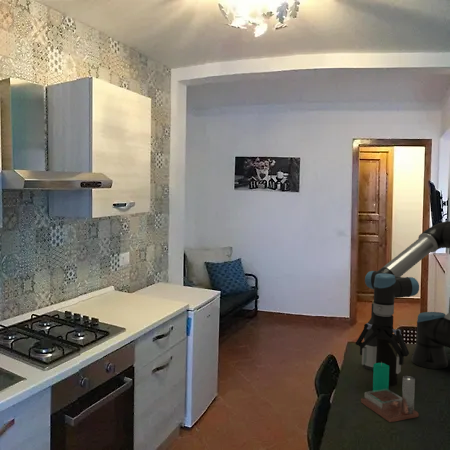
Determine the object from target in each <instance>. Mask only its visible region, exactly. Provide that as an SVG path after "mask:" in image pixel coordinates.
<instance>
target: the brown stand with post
mask: <svg viewBox="0 0 450 450" xmlns="http://www.w3.org/2000/svg"><path fill="white" fill-rule="evenodd" d="M415 384H416V378H415V377H414V376H411V375H403V376H402V386H401V388H402V389H401V390H402V391H401V396H400V395H399V394H397V393H395V392H394V391H392V390H390V389H387V388H386V389H380V390H374V391H373V390H369V391H365V392H364V397H363V398H360V403H361V404H363V405H364V406H366V407H367V408H369V409H370V410H371V411H373V412H375V414H377V415H378V416H380V417H382V418H383V419H384V420H385V421H387V422H389V423H394V422H400V421H404V420H409V419H414V418H418V417H419V414H420V413H419V412H418V411H416V410H415V387H416V385H415Z"/></svg>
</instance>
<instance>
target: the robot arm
mask: <svg viewBox="0 0 450 450" xmlns="http://www.w3.org/2000/svg"><path fill="white" fill-rule="evenodd" d="M439 249H448V250H449V251H448V254H449V255H450V221H448V220H447V221H442V222H439V223H436V224H435V225H432V226H430V227H429V228H427V229H426V230H424V231H423V232H422V233H420V234H419V235H418V238H417V239H416V240H415V241H414V242H413V243H411V244H410V245H409V246H407V248H405V249H404V250H403V251H401V252H400V253H399V254H398V255H395V257H394V258H393V259H391V260H390V261H389V262H388V263H386V264H385V265H383V267H381V268H380V269H379V270H371V271H370V270H369V271H368V272H367V273H366V275H365V278H364V284H365V285H366V287H368V289H371V290H373V300H374V304H373V312H374V314H373V324H372V325H371V324H370V323H368V322H366V323H364V324H363V325H364V327H363V330H362V331H361V332H360V335H359V336H358V338H357V340H356V342H355V345H356V346H358V347H359V355H360V356H361V365H362V366H363V365H364V364H366V358H367V347H365V346H366V344H367V343H369V342H370V341H371V340H372V339H373V338H374V337H375V336H376V337H377V338H382V339H387V340H388V341H389V342H390V343H391V345H392V346H393V348H394V349H395V351H396V352H397V362H396V373H397V375H399V374H400V373H401V368H402V366H403V365H404V361H405V357H407V356H409V355H410V351H409V349H408V347H407V345H406V342H405V340H404V337H403V333H402V329H401V328H399V329H394V314H395V311H394V310H395V299H398V298H410V297H414V296H417V294H418V293H419V291H420V284H419V281H418V280H417V279H416V278H415V277H412V276H409V277H408V276H406V277H403V275H404V274H405V273H408V271H410V270H411V269H412V268H413V267H414V266H416V265H417V264H418V263H419V262H421V260H423V259H424V258H425V257H426V256H428V255H429V254H430V253H435V252H436V251H438V250H439ZM448 301H449V303H448V313H445V312H439V311H425V312H424V311H423V312H420V313H419V314H418V315H417V319H416V320H417V321H416V344H415V347H414V350H413V353H412V355H411V362H412V363H413V364H415V365H416V366H419V367H422V368H425V369H426V368H427V369H432V370H435V369H436V370H441V369H446V368H447V367H448V366H449V359H448V357H447V353H446V350H445V347H447V348H450V298H449V299H448ZM370 328H372V330H373V333H372V334H371V335H370V336H369V337H368V338H367V339H366V340H365V341H364V337H365V335H366V334H367V332H368V330H369V329H370ZM392 334H395V335H396V337H397V340H398V344H397V342H396V341H395V339H394V337H393V335H392Z"/></svg>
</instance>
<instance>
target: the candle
mask: <svg viewBox="0 0 450 450" xmlns="http://www.w3.org/2000/svg"><path fill="white" fill-rule="evenodd" d="M372 373H373V375H372V391H374V390H380V389H386V388H387V389H389V387H390V386H389V365H386V364H384V363H382V361H381V363H375V364H374V366H373V372H372ZM389 390H390V389H389Z"/></svg>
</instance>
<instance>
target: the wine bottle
mask: <svg viewBox="0 0 450 450" xmlns="http://www.w3.org/2000/svg"><path fill="white" fill-rule="evenodd" d="M373 304H374V299H372V301H371V315H370V319H369V321H368V322H367V323H370V324H371V325H372V324H373V314H374V312H373ZM372 333H373V330H372V328H370V329H369V330H368V332H367V334H366V335H365V337H364V339H363V342H364V341H365V340H366V339H367V338H368V337H369V336H370V335H371V334H372ZM365 347H367V358H366V364H364V365H362V366H363V368H364V369H366V370H369V371H373V366H374V364H375V363H376V352H377V339H376V336H375V337H374V338H373V339H372V340H371V341H370V342H369V343H367V344H366V346H365Z"/></svg>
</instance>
